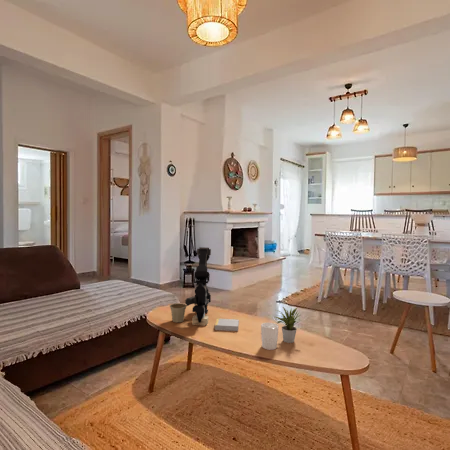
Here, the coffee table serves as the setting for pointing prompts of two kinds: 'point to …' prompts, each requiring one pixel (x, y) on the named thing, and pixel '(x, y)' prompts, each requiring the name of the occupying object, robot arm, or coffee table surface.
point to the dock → (227, 324)
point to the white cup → (269, 335)
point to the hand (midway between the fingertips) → (200, 320)
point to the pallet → (203, 322)
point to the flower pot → (178, 312)
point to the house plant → (288, 325)
